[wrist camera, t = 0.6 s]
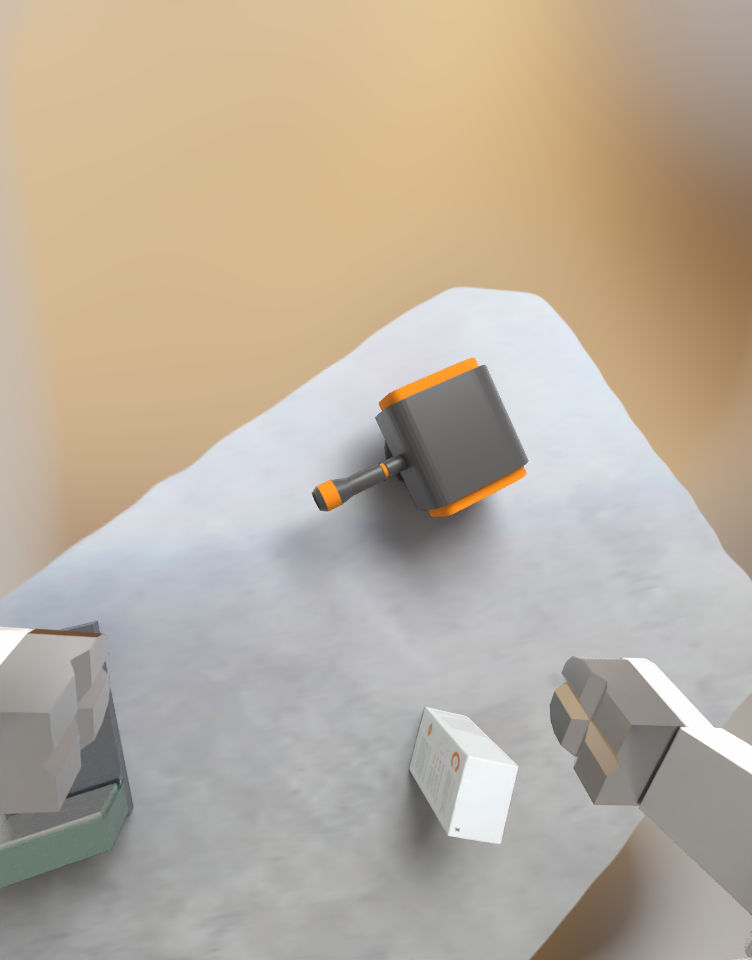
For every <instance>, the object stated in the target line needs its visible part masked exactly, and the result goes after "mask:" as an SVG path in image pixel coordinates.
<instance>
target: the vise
mask: <svg viewBox="0 0 752 960" xmlns="http://www.w3.org/2000/svg"><path fill="white" fill-rule="evenodd" d="M61 631H75V632H89V633H100V631H99V626H98V621H95V622H91V623H87V624H83V625H79V626H75V627H70V628H66V629H62V630H61ZM102 668H103V669H104V671H105V672H106V673H107V668H106V663H105V662H104V664H103V666H102ZM107 674H108V673H107ZM80 755H81V768H80V770H79V772H78V774H77V776H76V778H75V780H74V782H73V784H72V786H71V789H70V791H69V793H68V795H67V797H66V799H65V801H64V803H63V805H62V807H61V809H60V811H59V812H41V813H17V814H6V815H7V821H6V822H5V823H4V824H3V825H2V827H1V828H0V888H2V887H5V886H8V885H11V884H14V883H17V882H19V881H22V880H25V879H28V878H31V877H34V876H37V875H39V874H42V873H45V872H48V871H51V870H54V869H57V868H59V867H62V866H65V865H68V864H71V863H74V862H77V861H79V860H82V859H85V858H88V857H91V856H94V855H97V854H100V853H102V852H105V851H108V850H111V849H112V847H113V845H114V842H115V840H116V838H117V836H118V833H119V831H120V829H121V827H122V824H123V822H124V820H125V818H126V816H129V815H130V813H131V811H132V809H133V803H132V798H131V793H130V787H129V782H128V777H127V772H126V767H125V761H124V756H123V751H122V746H121V741H120V735H119V730H118V725H117V720H116V715H115V709H114V704H113V699H112V694H111V689H110V692H109V700H108V705H107V709H106V712H105V716H104V719H103V722H102V725H101V727H100V729H99V731H98V733H97V735H96V738H95V740H94V741H92V742H91V743H90V744H88V745H87V746H86V747H84V748H83V749H81V750H80Z"/></svg>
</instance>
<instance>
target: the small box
mask: <svg viewBox="0 0 752 960" xmlns="http://www.w3.org/2000/svg"><path fill="white" fill-rule="evenodd" d="M518 768H519V767H518V766H517V765H516V764H515V763H514V762H513V761H512V760H511V759H510V758H509V757H508V756H507V755H506V754H505V753H504V752H503V751H502V750H501V749H500V748H499V747H498V746H497V745H496V744H495V743H494V742H493V741H492V740H491V739H490V738H489V737H488V736H487V735H486V734H485V733H484V732H483V731H482V730H481V729H480V728H479V727H478V726H477V725H475V724H474V723H473V722H472V721H471V720H470V719H469V718H468V717H467V716H464V715H459V714H455V713H450V712H446V711H441V710H437V709H433V708H428V707H425V709H424V713H423V717H422V721H421V724H420V728H419V732H418V736H417V740H416V743H415V747H414V751H413V755H412V759H411V763H410V767H409V770H410V772H411V773H412V775H413V777H414V778H415V780H416V782H417V784H418V785H419V787H420V789H421V791H422V792H423V794H424V796H425V797H426V799H427V801H428V803H429V804H430V806H431V808H432V810H433V811H434V813H435V815H436V816H437V818H438V820H439V822H440V823H441V825H442V827H443V829H444V830H445V832H446V834H447V836H450V837H457V838H463V839H469V840H476V841H482V842H488V843H496V844H501V842H502V837H503V833H504V829H505V824H506V820H507V816H508V811H509V807H510V802H511V798H512V794H513V789H514V785H515V781H516V776H517V772H518Z"/></svg>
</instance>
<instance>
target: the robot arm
mask: <svg viewBox="0 0 752 960" xmlns="http://www.w3.org/2000/svg"><path fill="white" fill-rule="evenodd" d="M108 655H109V648H108V637H107V636H106V635H104V634H103V633H89V632H75V631H61V630H47V629H35V630H34V629H24V628H10V627H0V814H17V813H41V812H59V811H60V809H61V807H62V805H63V803H64V801H65V799H66V797H67V795H68V793H69V791H70V789H71V786H72V784H73V782H74V780H75V778H76V776H77V774H78V772H79V770H80V768H81V755H80V750H81V749H83V748H84V747H86V746H87V745H88V744H90V743H91V742H92V741H94V740H95V738H96V735H97V733H98V731H99V729H100V727H101V725H102V722H103V719H104V716H105V712H106V709H107V705H108V700H109V692H110V676H109V675H108V674H107V673H106V672H105V671H104V669H103V668H102V666H103V664H104V662H105V660H106V659H107V657H108ZM562 675H563V677H564V680H565V683H564V684H563V685H561V686H560V687H559V688H558V689H557V690H555V692H554V695H553V698H552V701H551V704H550V717H551V723H552V727H553V730H554V733H555V735H556V737H557V739H558V741H559V743H560V744H561V746H562V747H564V748H565V749H566V750H567V751H569V752H570V753H571V754H572V755H574V756H575V760H574V770H575V772H576V773H577V775H578V777H579V779H580V781H581V782H582V784H583V786H584V788H585V790H586V791H587V793H588V795H589V797H590V798H591V800H592V802H593V804H594V805H633V806H639V809H640V810H641V811H642V812H643V813H644V814H645V815H646V816H647V817H648V818H649V819H650V820H651V821H652V822H654V823H655V824H656V825H657V826H658V827H659V828H660V829H661V830H662V831H663V832H664V833H665V834H666V835H667V836H668V837H670V839H672V840H673V841H674V842H675V843H676V844H677V845H678V846H679V847H680V848H681V849H682V850H683V851H684V852H685V853H686V854H687V855H688V856H690V857H691V858H692V859H693V860H694V861H695V862H696V863H697V864H698V865H699V866H700V867H701V868H702V869H703V870H704V871H705V872H706V873H708V874H709V875H710V876H711V877H712V878H713V879H714V880H715V881H716V882H717V883H718V884H719V885H720V886H721V887H722V888H724V890H726V891H727V892H728V893H729V894H730V895H731V896H732V897H733V898H734V899H735V900H736V901H737V902H738V903H739V904H740V905H741V906H743V907H744V908H745V909H746V910H747V911H748V912H749V913H750V914H751V915H752V746H750V745H749V744H747V743H745V742H744V741H742V740H740V739H739V738H737V737H735V736H734V735H732V734H730V733H729V732H727V731H725V730H724V729H722V728H714V727H713V726H712V725H711V724H710V723H709V722H708V721H707V720H706V719H705V718H704V717H703V715H702V714H701V713H700V712H699V711H698V710H697V709H696V708H695V707H694V706H693V705H692V704H691V703H690V702H689V700H688V699H687V698H686V697H685V696H684V695H683V694H682V693H681V692H680V691H679V690H678V689H677V688H676V687H675V686H674V684H673V683H672V682H671V681H670V680H669V679H668V678H667V677H666V676H665V675H664V674H663V673H662V672H661V671H660V669H659V668H658V667H657V666H656V665H655V664H654V663H652V662H650V661H648V660H647V659H645V658H619V659H618V658H600V657H575V656H572V657H571V658H570V659H569V660H568V661H567V662H566V663H565V666H564V668H563V671H562ZM744 951H745V952H746V954H747V956H748V957H749V958H744V959H732V960H752V931H751V933H750V934H749V936H748V937H747V938H746V940H745V950H744Z"/></svg>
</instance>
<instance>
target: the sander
mask: <svg viewBox="0 0 752 960" xmlns="http://www.w3.org/2000/svg"><path fill="white" fill-rule="evenodd" d="M379 405H380V408H381V410H382V412H381V413H380V414H378V415H377V416H376V417H375V419H376V421H377V423H378V425H379V427H380V429H381V432H382V434H383V436H384V438H385V454H386V459H387V460H386V461H384V462H382V464H380V465H379V464H375V465H373V466H371V467H369V468H367V469H364V470H362V471H360V472H358V473H356V474H354V475H352V476H350V477H347V478H345V479H336V480H329V481H327V482H325V483H323V484H321V485H318V486H316V488H315V489H314V491H313V492H312V495H313V498H314V500H315V502H316V504H317V506H318V508H319V509H320V511H330V510H332V509H334V508H336V507H338V506H340V505H342V504H343V503H345V502H346V501H347V500H348V499H350V498H351V497H352V496H353V495H356V494H358V493H360V492H362V491H364V490H366V489H368V488H370V487H372V486H374V485H376V484H379V483H381V482H383V481H385V479H386V478H387V477H391V476H393V475H395V476H396V477H397V478H398V479H399V480H400V481H401V482H402V483H404V484H405V485H406V486H407V488H408V490H409V492H410V494H411V497H412V499H413V501H414V503H415V505H416V507H417V510H428V512H429V514H430V516H431V517H446V516H449V515H452V514H454V513H456V512H458V511H460V510H462V509H464V508H466V507H468V506H470V505H472V504H474V503H476V502H478V501H480V500H481V499H483V498H485V497H487V496H489V495H491V494H493V493H495V492H497V491H499V490H501V489H503V488H505V487H506V486H508V485H510V484H512V483H514V482H516V481H518V480H520V479H521V478H523V477H524V476H525V475H526V474H527V473H526V471H525V469H524V467H523V466H524V465H525V464H526V463H527V462H528V458H527V456H526V454H525V452H524V449H523V447H522V445H521V443H520V441H519V438H518V436H517V434H516V432H515V429H514V427H513V425H512V423H511V420H510V418H509V416H508V414H507V412H506V409H505V407H504V405H503V403H502V400H501V398H500V396H499V394H498V391H497V389H496V387H495V385H494V383H493V380H492V378H491V376H490V374H489V371H488V369H487V367H486V365H482V366H478V364H477V362H476V360H475V358H470V359H467V360H464V361H462V362H460V363H457V364H455V365H453V366H450V367H448V368H446V369H443V370H441V371H439V372H436V373H434V374H432V375H429V376H427V377H425V378H422V379H420V380H418V381H415V382H413V383H411V384H408V385H406V386H404V387H401V388H399V389H397V390H395V391H393V392H391V393H389V394H388V395H387V396H385V397H384V398H383V399H382V400H381V401H380V402H379Z"/></svg>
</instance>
